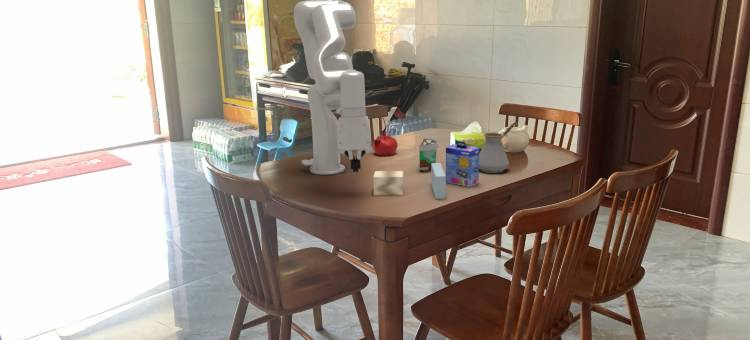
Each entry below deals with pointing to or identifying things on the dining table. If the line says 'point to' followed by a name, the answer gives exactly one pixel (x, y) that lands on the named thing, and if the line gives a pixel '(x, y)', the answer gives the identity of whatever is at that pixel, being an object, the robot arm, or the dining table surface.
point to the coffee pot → (494, 153)
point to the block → (388, 183)
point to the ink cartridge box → (462, 164)
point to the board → (438, 180)
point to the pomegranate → (385, 145)
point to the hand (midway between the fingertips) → (355, 171)
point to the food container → (427, 154)
